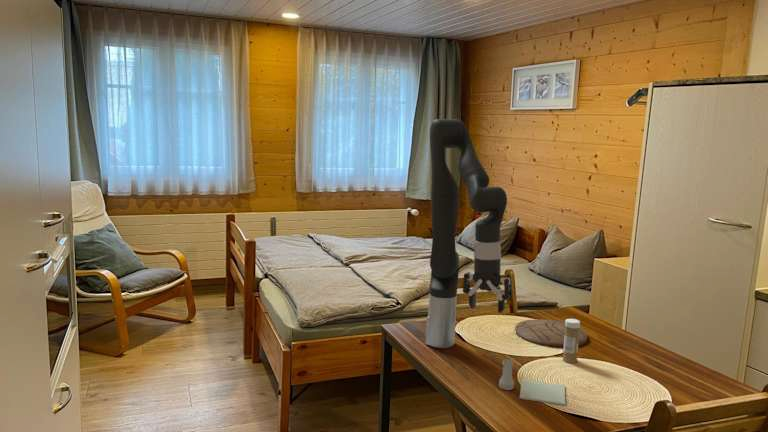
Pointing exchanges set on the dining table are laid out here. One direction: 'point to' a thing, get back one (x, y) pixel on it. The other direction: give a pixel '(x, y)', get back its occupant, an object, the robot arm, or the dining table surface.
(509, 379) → the rook chess piece
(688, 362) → the dining table surface
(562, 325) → the trivet
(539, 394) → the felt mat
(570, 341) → the sprinkles bottle
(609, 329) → the dining table surface
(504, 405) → the dining table surface
